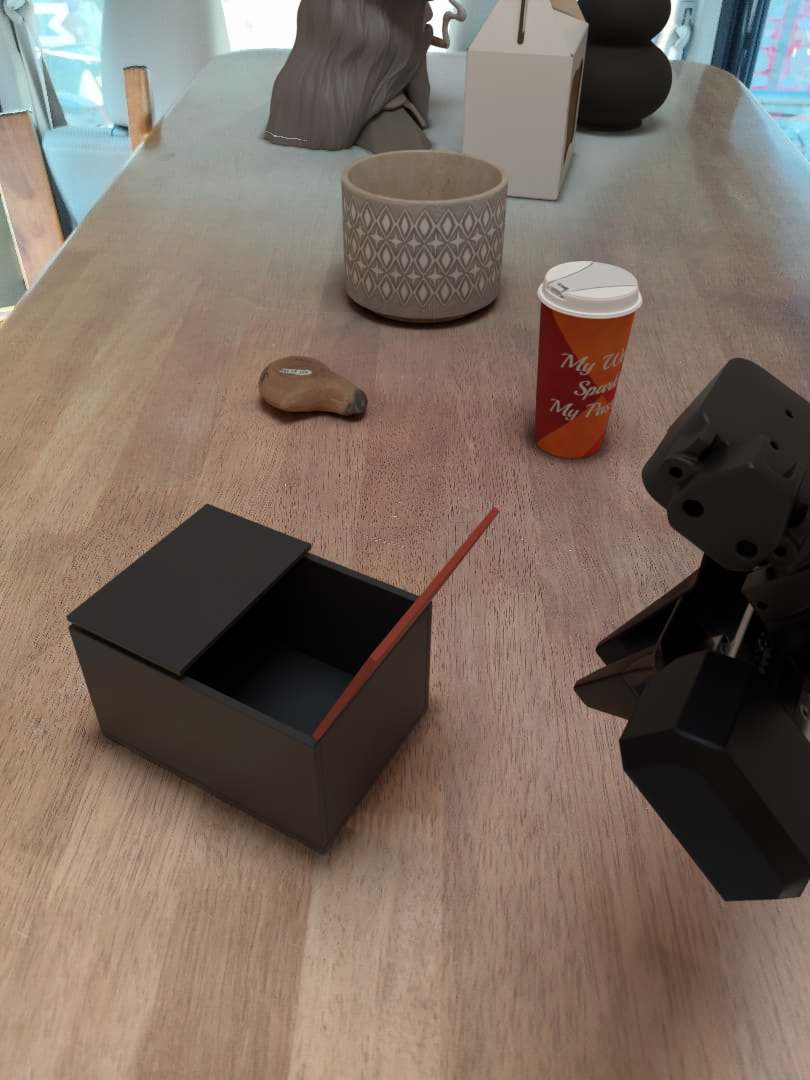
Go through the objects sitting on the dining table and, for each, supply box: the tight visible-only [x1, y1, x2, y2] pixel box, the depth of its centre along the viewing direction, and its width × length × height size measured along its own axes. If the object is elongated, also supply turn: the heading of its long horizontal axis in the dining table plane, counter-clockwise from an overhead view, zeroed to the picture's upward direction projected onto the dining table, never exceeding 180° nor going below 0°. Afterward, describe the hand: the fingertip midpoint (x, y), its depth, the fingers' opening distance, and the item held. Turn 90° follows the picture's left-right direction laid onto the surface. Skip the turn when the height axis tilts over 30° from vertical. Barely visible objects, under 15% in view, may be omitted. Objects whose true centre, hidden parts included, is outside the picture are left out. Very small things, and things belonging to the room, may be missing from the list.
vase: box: [576, 0, 673, 133], centre depth 138 cm, size 18×18×35 cm
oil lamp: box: [257, 355, 369, 416], centre depth 78 cm, size 9×4×8 cm
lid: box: [312, 506, 500, 740], centre depth 40 cm, size 7×11×1 cm
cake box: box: [461, 0, 589, 202], centre depth 121 cm, size 22×13×28 cm, turn 166°
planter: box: [340, 149, 508, 324], centre depth 92 cm, size 16×16×13 cm
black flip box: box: [65, 503, 433, 855], centre depth 49 cm, size 15×11×9 cm
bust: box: [263, 0, 468, 154], centre depth 136 cm, size 34×34×35 cm
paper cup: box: [534, 260, 643, 460], centre depth 70 cm, size 8×8×14 cm
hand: (591, 674), depth 36 cm, fingers closed
